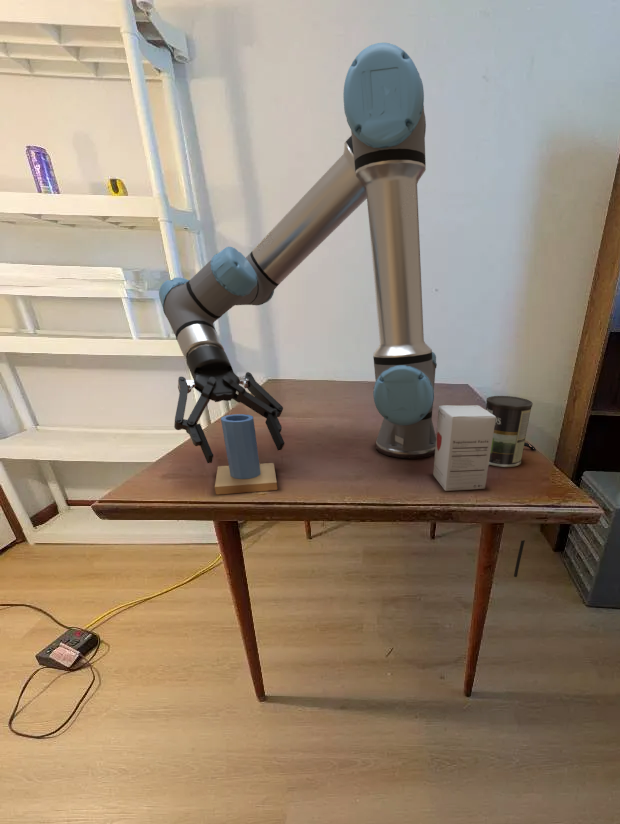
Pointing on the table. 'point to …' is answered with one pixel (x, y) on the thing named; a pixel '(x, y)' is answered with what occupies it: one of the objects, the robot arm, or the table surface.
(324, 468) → the table surface
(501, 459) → the coffee can
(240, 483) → the stand
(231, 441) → the blue hollow tube
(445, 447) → the white product box
